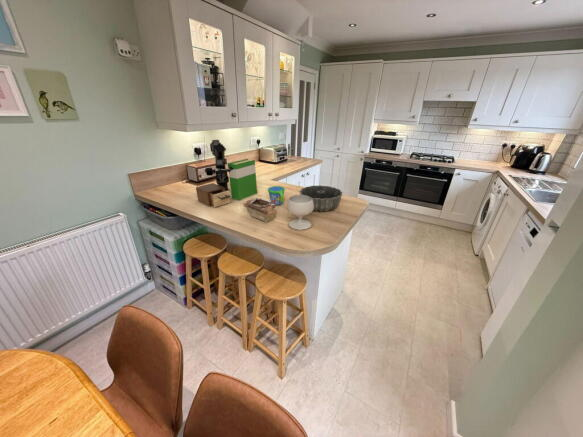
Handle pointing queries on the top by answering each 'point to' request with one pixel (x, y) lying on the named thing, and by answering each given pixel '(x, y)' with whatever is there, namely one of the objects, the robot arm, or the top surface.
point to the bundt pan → (323, 197)
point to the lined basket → (261, 209)
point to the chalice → (300, 210)
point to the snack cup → (276, 194)
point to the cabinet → (207, 192)
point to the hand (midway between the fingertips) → (222, 182)
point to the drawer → (219, 197)
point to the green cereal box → (242, 179)
